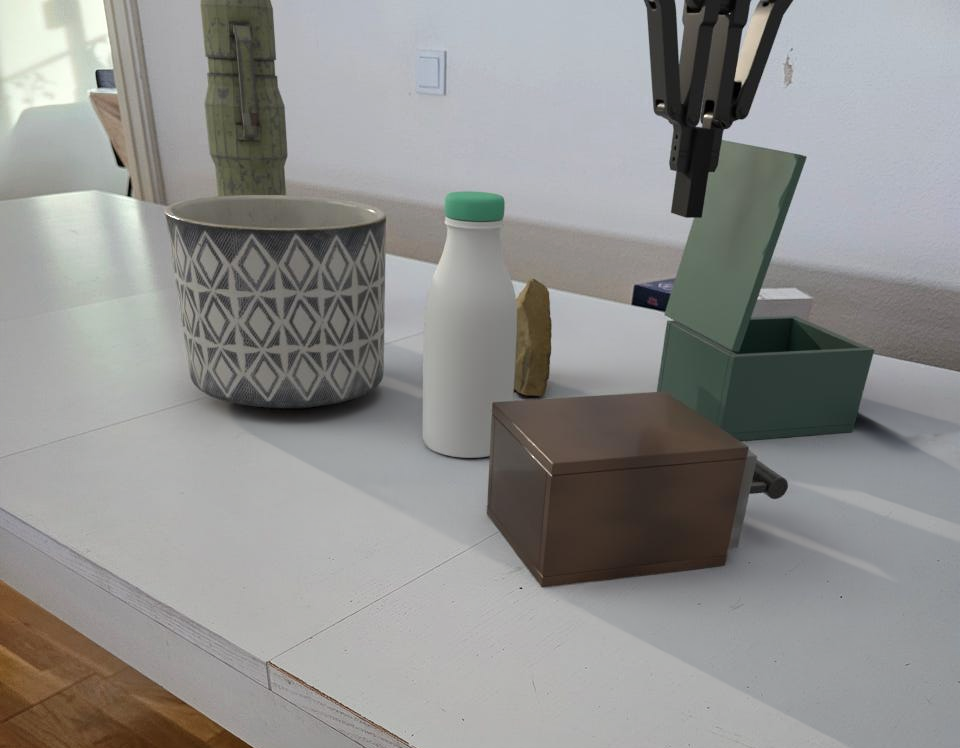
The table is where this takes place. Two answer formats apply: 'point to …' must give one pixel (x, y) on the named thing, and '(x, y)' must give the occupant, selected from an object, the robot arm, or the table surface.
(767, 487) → the drawer
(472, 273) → the milk bottle
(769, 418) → the chest
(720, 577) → the table surface
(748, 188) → the lid
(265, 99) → the thermos
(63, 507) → the table surface
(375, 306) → the planter
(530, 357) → the rock
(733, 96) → the robot arm
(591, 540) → the cabinet
